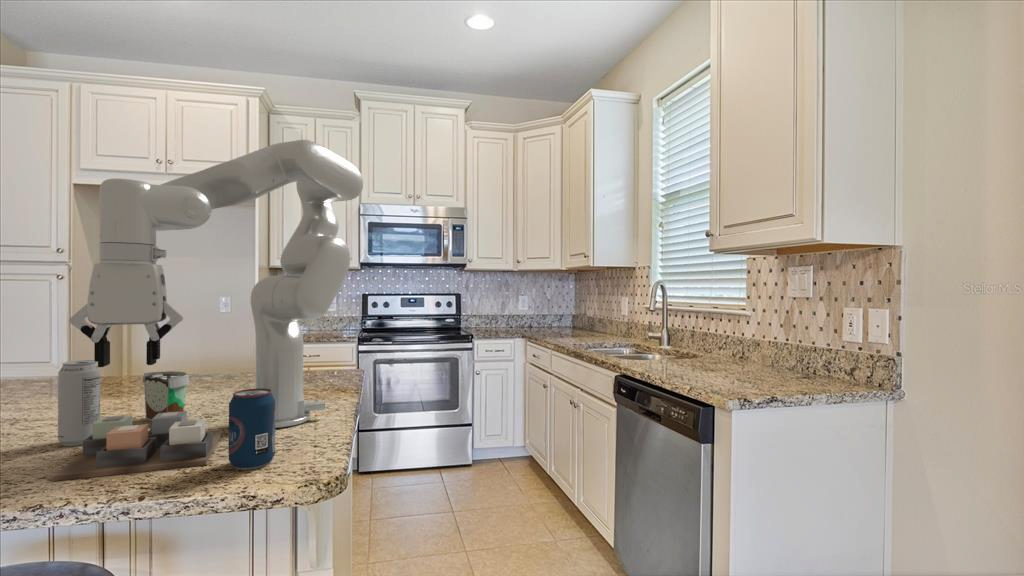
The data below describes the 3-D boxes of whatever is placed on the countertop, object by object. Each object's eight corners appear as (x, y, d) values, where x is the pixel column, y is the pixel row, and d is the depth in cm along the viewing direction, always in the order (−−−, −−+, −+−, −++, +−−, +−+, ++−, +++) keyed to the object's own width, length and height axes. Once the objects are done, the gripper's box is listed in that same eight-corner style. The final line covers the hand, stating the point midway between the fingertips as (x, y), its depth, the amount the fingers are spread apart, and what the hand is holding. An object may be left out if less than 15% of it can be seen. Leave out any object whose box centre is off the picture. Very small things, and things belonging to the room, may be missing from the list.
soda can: (221, 464, 85) (221, 392, 85) (263, 453, 90) (264, 385, 90) (239, 474, 80) (239, 398, 80) (282, 463, 86) (283, 391, 86)
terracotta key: (148, 440, 88) (148, 422, 88) (140, 448, 83) (140, 429, 83) (116, 443, 86) (116, 425, 86) (106, 451, 82) (106, 432, 82)
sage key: (132, 430, 93) (132, 413, 93) (124, 437, 89) (124, 420, 89) (102, 432, 92) (102, 416, 92) (92, 440, 88) (92, 422, 88)
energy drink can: (75, 437, 99) (75, 359, 99) (108, 437, 99) (108, 359, 99) (49, 447, 93) (49, 364, 93) (84, 446, 93) (84, 364, 93)
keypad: (222, 434, 101) (222, 418, 101) (206, 464, 85) (206, 445, 85) (97, 445, 94) (97, 428, 94) (53, 481, 77) (53, 460, 77)
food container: (200, 420, 112) (201, 374, 112) (169, 426, 107) (169, 378, 106) (173, 412, 118) (173, 369, 118) (142, 418, 113) (142, 372, 113)
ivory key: (205, 435, 91) (205, 418, 91) (200, 442, 87) (200, 424, 87) (175, 437, 89) (175, 420, 89) (169, 445, 85) (169, 427, 85)
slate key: (186, 425, 97) (186, 410, 97) (181, 432, 92) (181, 415, 92) (158, 428, 95) (158, 412, 95) (151, 434, 91) (151, 418, 91)
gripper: (193, 258, 91) (193, 359, 91) (72, 255, 85) (72, 364, 85) (184, 256, 84) (184, 365, 84) (52, 253, 78) (51, 371, 78)
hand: (128, 363), depth 85 cm, fingers open, 5 cm apart
